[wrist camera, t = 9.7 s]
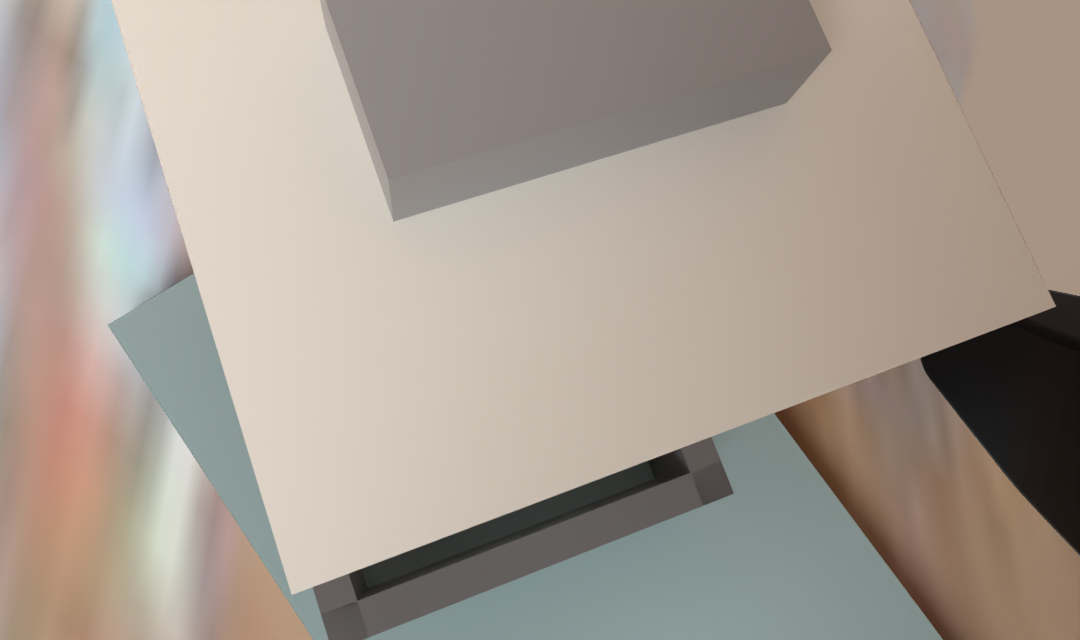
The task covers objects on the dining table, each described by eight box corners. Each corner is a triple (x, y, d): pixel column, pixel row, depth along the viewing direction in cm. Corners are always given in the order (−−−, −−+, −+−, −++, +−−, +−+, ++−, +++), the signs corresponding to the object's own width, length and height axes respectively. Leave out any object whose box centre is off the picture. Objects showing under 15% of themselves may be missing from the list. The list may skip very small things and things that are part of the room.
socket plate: (1076, 847, 18) (1224, 924, 15) (709, 1227, 16) (786, 1421, 12) (518, 96, 20) (535, 12, 17) (125, 335, 18) (53, 293, 15)
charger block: (608, 456, 18) (1137, 281, 4) (394, 536, 17) (269, 606, 4) (532, 254, 18) (793, -409, 5) (323, 320, 18) (6, -274, 4)
